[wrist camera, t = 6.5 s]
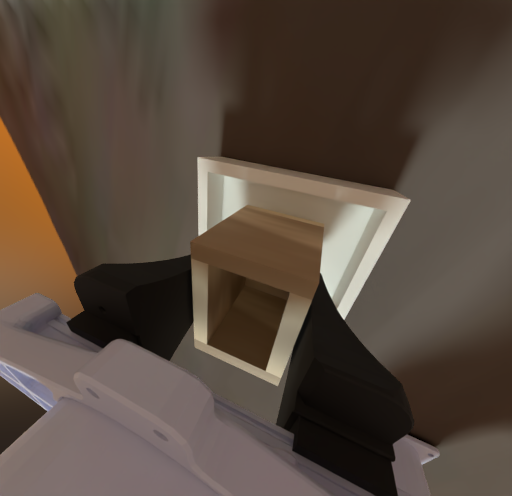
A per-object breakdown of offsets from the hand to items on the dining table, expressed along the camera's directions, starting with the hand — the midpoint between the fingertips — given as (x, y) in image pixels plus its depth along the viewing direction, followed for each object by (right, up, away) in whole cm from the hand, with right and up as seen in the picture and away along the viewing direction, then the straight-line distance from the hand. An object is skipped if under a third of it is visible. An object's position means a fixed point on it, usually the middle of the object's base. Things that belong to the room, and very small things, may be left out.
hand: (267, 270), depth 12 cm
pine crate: (+1, +1, +1) cm, 2 cm away
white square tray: (+1, +2, +3) cm, 4 cm away
